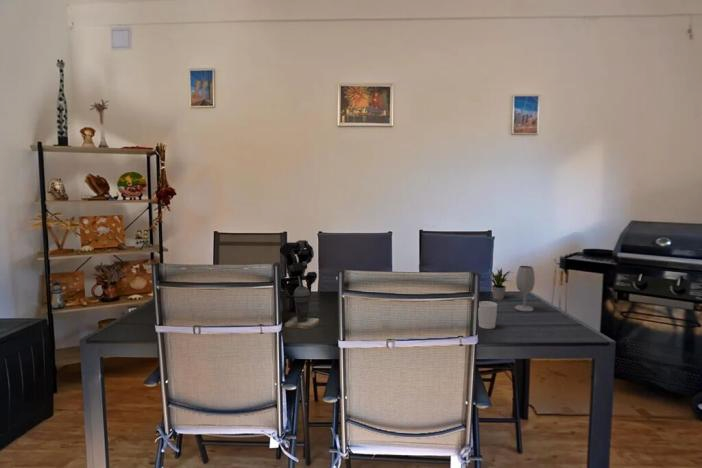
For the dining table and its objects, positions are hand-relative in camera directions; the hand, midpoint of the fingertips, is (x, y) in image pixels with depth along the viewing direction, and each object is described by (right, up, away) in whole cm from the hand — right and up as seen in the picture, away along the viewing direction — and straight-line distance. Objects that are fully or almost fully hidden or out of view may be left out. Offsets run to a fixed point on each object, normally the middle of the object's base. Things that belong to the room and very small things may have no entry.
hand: (300, 295), depth 196 cm
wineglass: (+106, -10, +18) cm, 108 cm away
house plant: (+101, -7, +38) cm, 108 cm away
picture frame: (+1, -13, -1) cm, 13 cm away
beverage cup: (+1, -11, -1) cm, 11 cm away
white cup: (+81, -13, -6) cm, 82 cm away
